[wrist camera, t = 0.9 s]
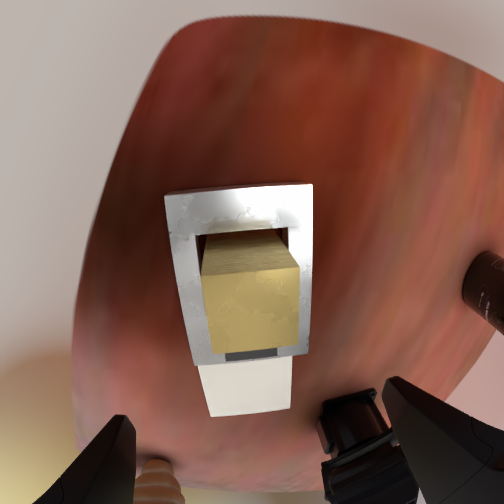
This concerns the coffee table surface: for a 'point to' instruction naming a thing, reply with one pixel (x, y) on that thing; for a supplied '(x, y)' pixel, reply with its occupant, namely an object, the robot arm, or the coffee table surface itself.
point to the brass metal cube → (250, 291)
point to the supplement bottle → (486, 289)
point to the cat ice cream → (157, 485)
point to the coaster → (247, 386)
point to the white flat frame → (229, 220)
